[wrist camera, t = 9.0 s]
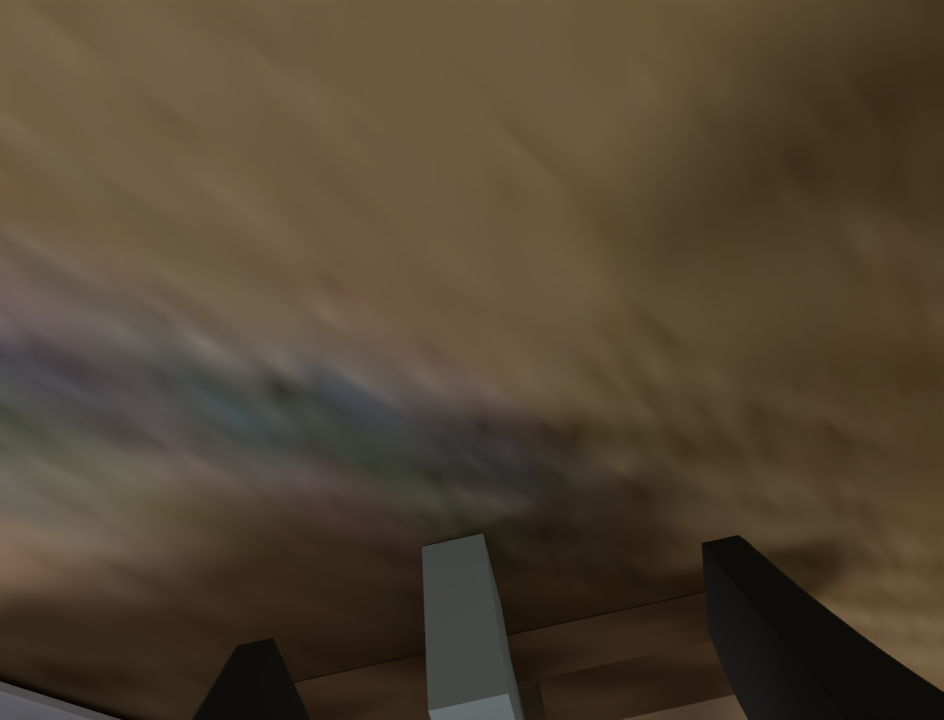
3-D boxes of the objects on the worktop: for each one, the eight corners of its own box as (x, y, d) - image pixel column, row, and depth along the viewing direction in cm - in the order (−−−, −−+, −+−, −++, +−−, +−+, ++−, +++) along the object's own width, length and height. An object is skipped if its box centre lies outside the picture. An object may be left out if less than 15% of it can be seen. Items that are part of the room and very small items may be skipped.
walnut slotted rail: (247, 733, 26) (223, 849, 22) (228, 697, 25) (199, 811, 21) (736, 626, 26) (790, 726, 22) (734, 585, 25) (790, 682, 21)
